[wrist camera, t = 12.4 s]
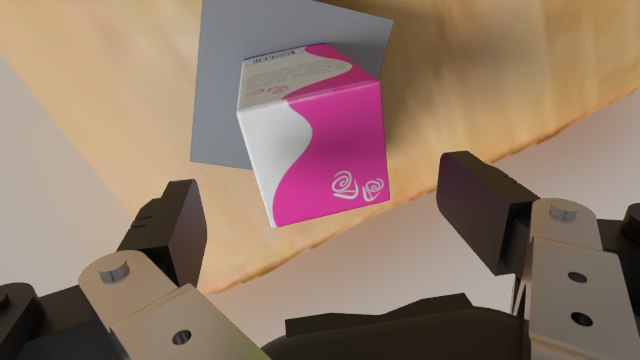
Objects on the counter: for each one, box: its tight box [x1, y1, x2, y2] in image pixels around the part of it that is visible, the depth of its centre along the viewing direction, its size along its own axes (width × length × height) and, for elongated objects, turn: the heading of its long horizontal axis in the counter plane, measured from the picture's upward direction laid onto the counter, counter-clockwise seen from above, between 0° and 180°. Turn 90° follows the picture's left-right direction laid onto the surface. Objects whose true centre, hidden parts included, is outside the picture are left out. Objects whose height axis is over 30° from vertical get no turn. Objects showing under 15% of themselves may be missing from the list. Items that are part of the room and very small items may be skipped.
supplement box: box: [237, 43, 390, 228], centre depth 20 cm, size 6×6×12 cm
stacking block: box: [190, 0, 394, 170], centre depth 28 cm, size 12×12×6 cm
